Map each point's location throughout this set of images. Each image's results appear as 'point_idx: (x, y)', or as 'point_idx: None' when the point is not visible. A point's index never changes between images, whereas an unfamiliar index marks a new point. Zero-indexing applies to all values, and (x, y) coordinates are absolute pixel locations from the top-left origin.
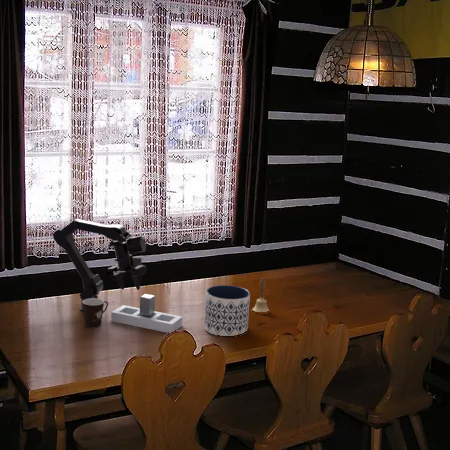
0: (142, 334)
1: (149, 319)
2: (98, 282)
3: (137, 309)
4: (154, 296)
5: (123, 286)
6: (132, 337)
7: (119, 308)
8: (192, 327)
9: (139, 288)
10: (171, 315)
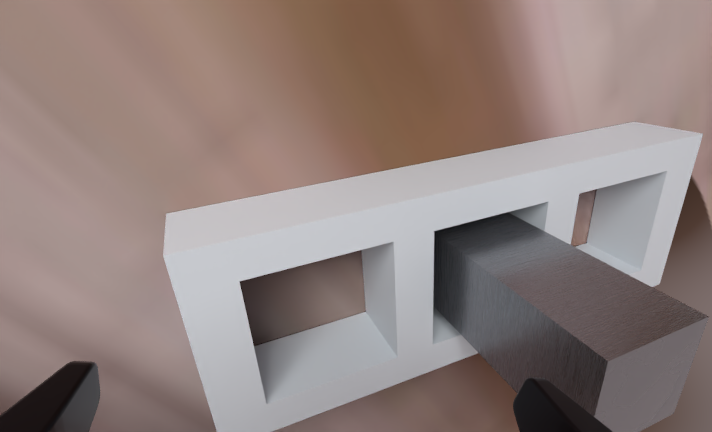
0: (489, 366)
1: None
2: None
3: (374, 246)
4: (696, 319)
5: (67, 421)
6: (463, 421)
7: (212, 349)
8: (683, 105)
9: (553, 394)
10: (641, 165)
